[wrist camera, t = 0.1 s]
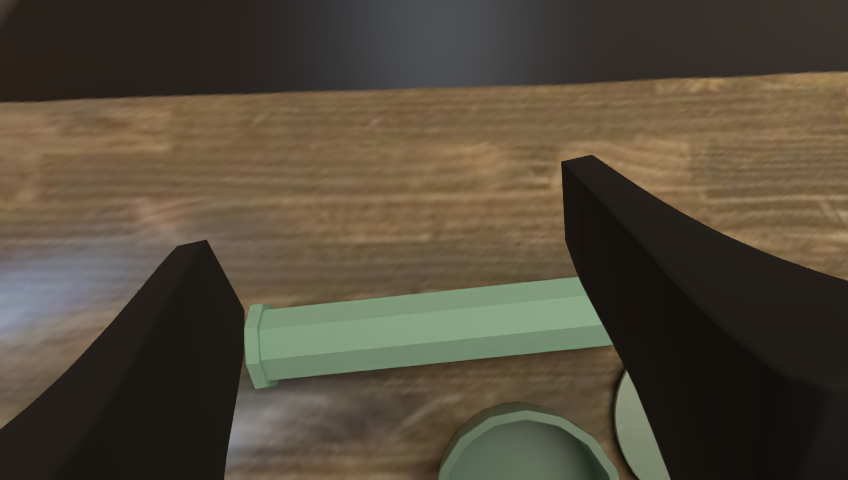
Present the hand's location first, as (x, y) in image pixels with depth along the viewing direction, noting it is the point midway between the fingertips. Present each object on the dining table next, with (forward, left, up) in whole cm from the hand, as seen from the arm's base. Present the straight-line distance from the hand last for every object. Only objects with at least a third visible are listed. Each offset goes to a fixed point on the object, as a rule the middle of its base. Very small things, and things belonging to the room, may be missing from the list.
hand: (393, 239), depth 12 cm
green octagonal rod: (-1, 0, -32) cm, 32 cm away
